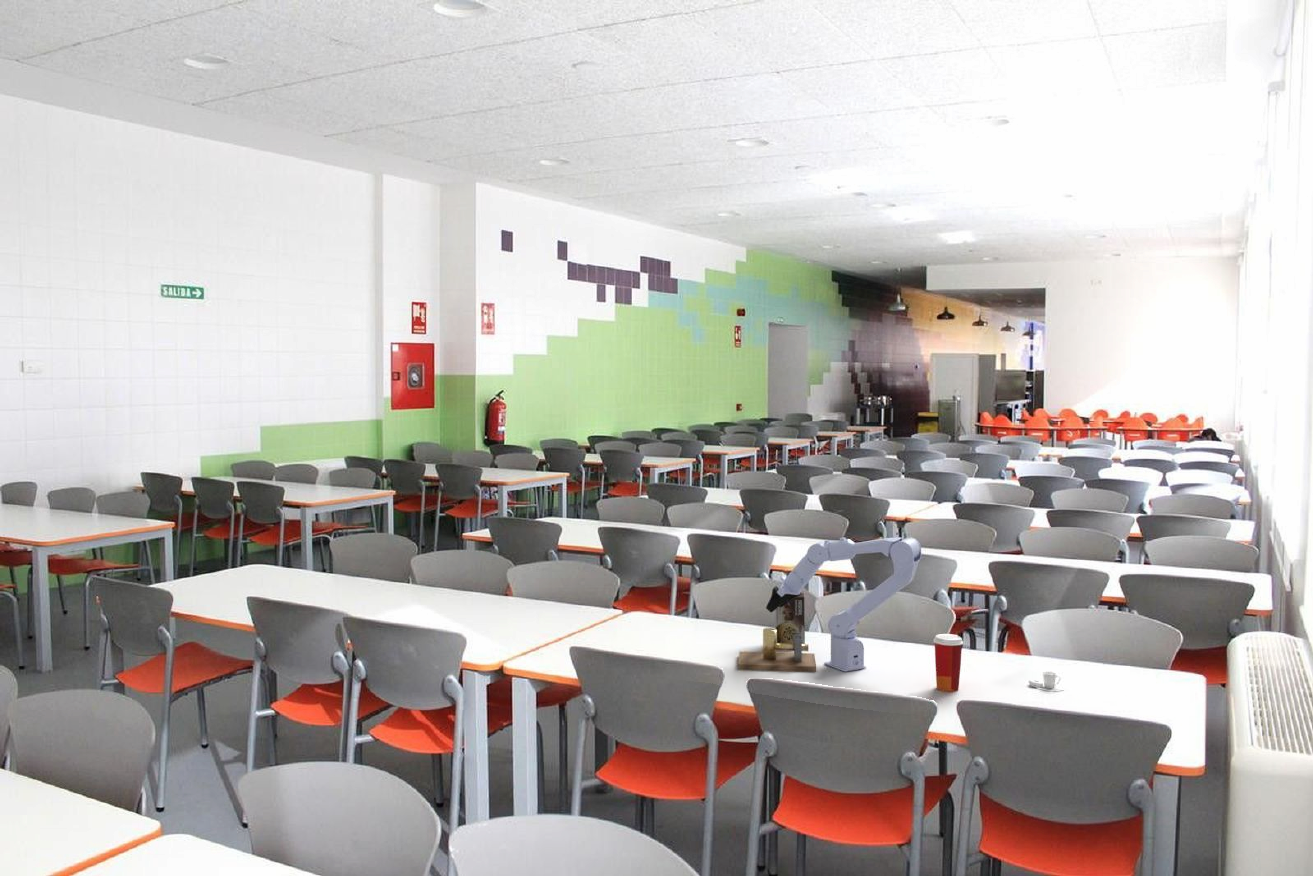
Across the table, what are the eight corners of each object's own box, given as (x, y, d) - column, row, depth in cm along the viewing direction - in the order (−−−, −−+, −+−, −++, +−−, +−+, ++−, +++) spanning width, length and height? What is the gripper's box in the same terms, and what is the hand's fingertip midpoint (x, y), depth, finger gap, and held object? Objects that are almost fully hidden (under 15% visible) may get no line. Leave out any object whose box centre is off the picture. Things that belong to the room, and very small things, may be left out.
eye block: (814, 658, 306) (814, 630, 305) (816, 671, 292) (816, 642, 291) (739, 656, 308) (739, 628, 307) (738, 669, 294) (738, 640, 294)
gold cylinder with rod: (808, 656, 301) (808, 629, 300) (808, 660, 297) (808, 632, 296) (763, 655, 302) (763, 627, 302) (762, 659, 298) (763, 631, 298)
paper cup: (957, 684, 279) (957, 633, 279) (966, 693, 272) (967, 640, 271) (928, 684, 279) (929, 633, 278) (937, 693, 271) (937, 640, 271)
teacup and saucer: (1025, 687, 278) (1025, 672, 277) (1038, 681, 283) (1038, 667, 283) (1057, 694, 271) (1057, 679, 271) (1070, 688, 277) (1070, 673, 277)
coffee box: (804, 643, 323) (804, 592, 322) (805, 648, 317) (805, 596, 316) (774, 642, 324) (774, 591, 323) (775, 648, 318) (775, 596, 317)
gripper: (800, 561, 310) (773, 593, 315) (781, 569, 298) (754, 602, 302) (817, 578, 308) (790, 610, 313) (799, 586, 295) (771, 619, 300)
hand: (773, 607), depth 307 cm, fingers open, 7 cm apart
